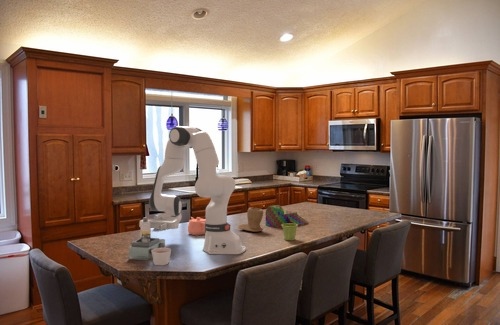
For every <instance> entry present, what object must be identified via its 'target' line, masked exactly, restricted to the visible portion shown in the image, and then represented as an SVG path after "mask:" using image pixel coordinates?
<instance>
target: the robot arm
mask: <svg viewBox="0 0 500 325" xmlns="http://www.w3.org/2000/svg"><path fill="white" fill-rule="evenodd" d="M188 148H189V149H192V150H193V152H194V156H195V159H196V163H197V166H198V178H197V180H196V182H195V185H194V190H195V192H196V195H197V196H199V197H201V198H205V199H206V198H207V199H209V198H210V201H209V203H208V204H207V206H206V207H205V219H206V223H205V235H204V237H205V238H204V242H203V243H204V244H203V247H202V251H203V252H205V253H206V254H209V255H240V254H243V253H244V252H245V251H247V247H246V246H245V245H242V240H241V237H240V236H239V235H238V234H237V233H235V232H234V231H232V230H231V226H232V224H231V223H229V222H228V218H227V217H228V216H227V215H228V210H227V209H228V205H229V200H230V197H231V196H232V193H234V191H235V190H236V181H235V179H234V177H233V176H231V175H226V174H219V175H218V174H217V167H218V165H219V161H220V160H219V157H218V154H217V152H216V149H215V146H214V143H213V141H212V139H211V136H210V135H209V134H208V133H207V132H206V131H203V130H202V129H200V128H198V127H191V126H183V125H182V126H181V125H177V126H174V127H172V128H171V129H170V131H169V132H168V140H167V142H166V145H165V152H164V159H163V162H162V164H161V165H160V166H158V168H157V171H156V175H155V177H154V182H153V186H152V191H151V194H150V196H149V200H148V206H149V207H150V209H151V210H152V211H153V212H164V213H160V214H157V215H158V216H157V217H156V219H154V218H148V221H150V229H154V228H158V229H157V230H161V231H166V230H175V229H177V230H178V228H179V227H180V226H179V225H180V224H179V223H180V221H182V211H183V201H182V199H181V198H180V196H178V195H174V194H164V193H162V190H163V186H164V183H165V182H164V181H165V180H166V178H167V177H169V176H172V175H175V174H178V173H179V172H181V171H182V170H183V168H184V166H185V157H186V156H185V155H186V150H187V149H188ZM141 221H143V219H141V220H139V226H140V222H141Z"/></svg>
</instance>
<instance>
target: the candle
mask: <svg viewBox="0 0 500 325" xmlns="http://www.w3.org/2000/svg"><path fill="white" fill-rule="evenodd" d="M151 252H152V257H153V258H152V261H153V265H155V266H165V265H168V264H169V263H170V261H171V260H170V259H171V253H172V249H171V248H170V247H165V248H155V249H153V250H151Z"/></svg>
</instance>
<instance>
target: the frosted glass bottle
mask: <svg viewBox="0 0 500 325" xmlns="http://www.w3.org/2000/svg"><path fill="white" fill-rule="evenodd" d="M148 219H149V217H147V216H145V217H143V218H142V220H143V221H141V222H140V221H139V222H140V225H139V228H140V230H139V231H140V238H141V242H142V243H149V242H151V238H152V237H151V234H152V232H151V229H152V228H150V221H148Z"/></svg>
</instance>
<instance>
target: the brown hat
mask: <svg viewBox="0 0 500 325" xmlns="http://www.w3.org/2000/svg"><path fill="white" fill-rule="evenodd" d="M246 213H247V215H246V216H247V224H240V225H238V227H237V228H238V229H240V230H244V231H247V232H255V233H257V232H261V231H263V230H264V229H263V228H262V227H261V222H262V219H263V216H264V210H263V209H262V208H258V207H248V209H247V212H246Z"/></svg>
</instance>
